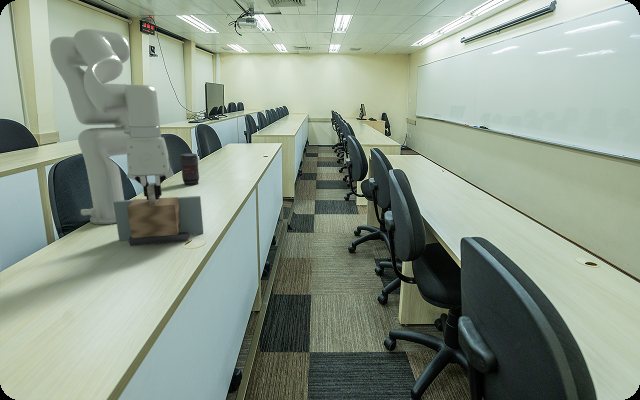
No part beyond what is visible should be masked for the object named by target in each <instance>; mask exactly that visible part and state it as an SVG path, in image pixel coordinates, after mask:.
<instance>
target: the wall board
mask: <svg viewBox="0 0 640 400" xmlns="http://www.w3.org/2000/svg"><path fill="white" fill-rule="evenodd" d="M177 197H178V202H179V212H180V223H181V226H180V228H178V230H179V233H180V232H188V233H189V236H191V235H201V234H202V235H203V234H204V222H203V213H202V200H201V195H195V196H191V195H190V196H177ZM133 200H134V199H124V200H121V201H114V202H113V204H114V210H115V216H116V223H115V224H116V228H117V236H118V241H121V242H122V241H129V238H130V237H131V230H130V224H129V217H128V210H127V207H128V206H129V205H130V204H131V202H132V201H133Z"/></svg>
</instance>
